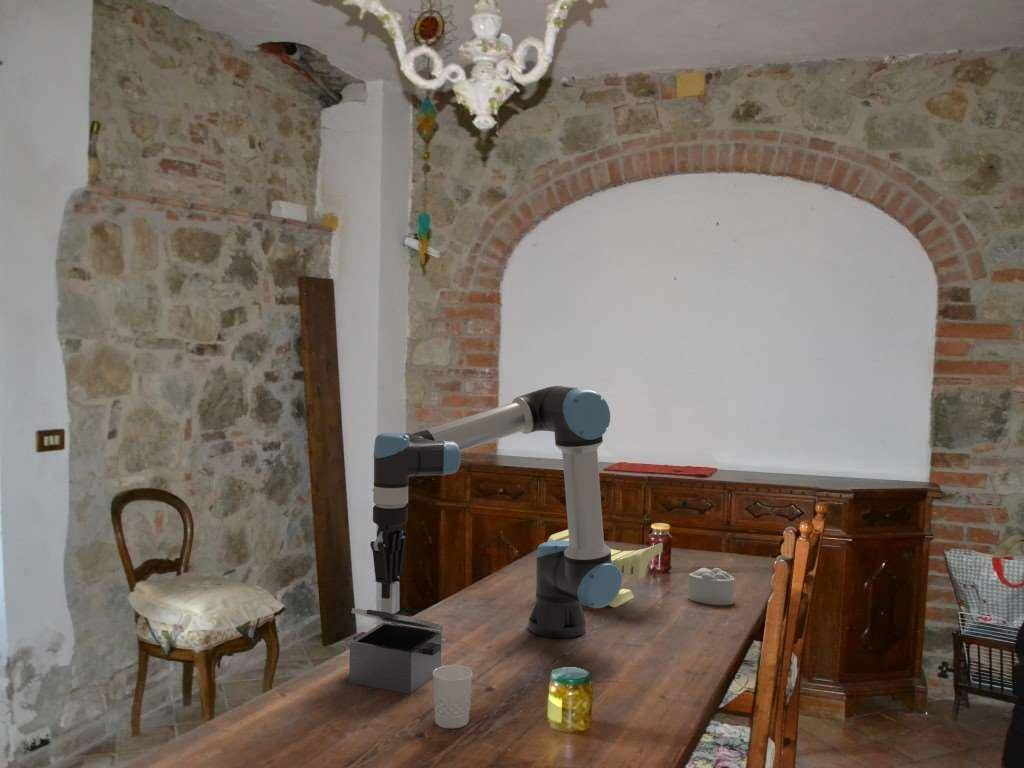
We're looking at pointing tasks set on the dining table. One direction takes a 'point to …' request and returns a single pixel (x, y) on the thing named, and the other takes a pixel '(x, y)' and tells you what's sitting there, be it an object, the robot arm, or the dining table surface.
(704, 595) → the lumpy-topped squat cylinder
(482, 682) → the dining table surface
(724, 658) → the dining table surface
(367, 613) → the lid
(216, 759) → the dining table surface
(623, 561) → the pale yellow slotted stand
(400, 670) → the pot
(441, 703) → the white cup
